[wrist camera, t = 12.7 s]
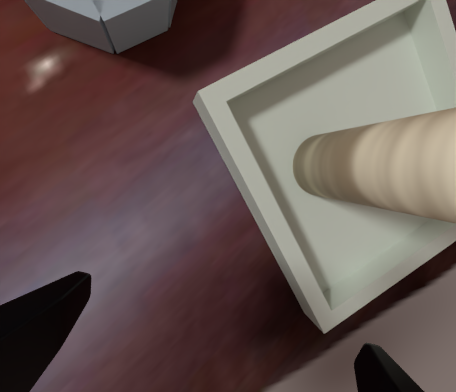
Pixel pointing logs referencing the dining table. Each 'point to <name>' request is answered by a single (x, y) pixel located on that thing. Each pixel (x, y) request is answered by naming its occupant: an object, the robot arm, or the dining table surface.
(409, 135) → the maple dowel
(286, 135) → the sage tray
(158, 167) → the dining table surface
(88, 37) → the slate cup
